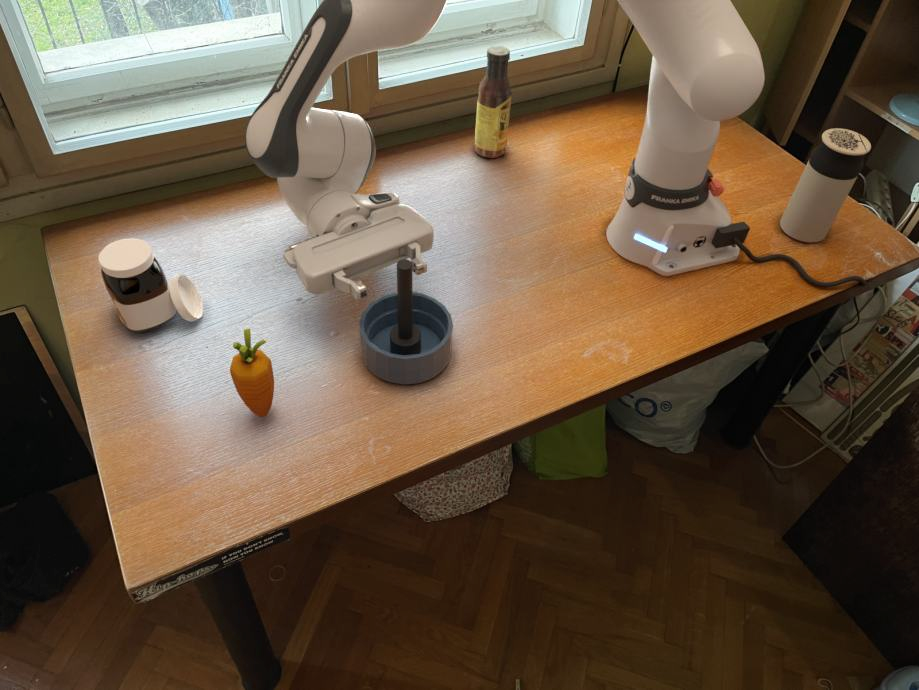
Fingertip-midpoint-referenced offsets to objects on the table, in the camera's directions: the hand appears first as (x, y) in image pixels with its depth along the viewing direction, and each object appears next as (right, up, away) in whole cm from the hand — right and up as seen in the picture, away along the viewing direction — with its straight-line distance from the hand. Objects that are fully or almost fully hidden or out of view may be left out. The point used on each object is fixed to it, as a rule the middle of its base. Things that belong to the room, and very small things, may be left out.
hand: (392, 282), depth 97 cm
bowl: (+1, -10, +6) cm, 12 cm away
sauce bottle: (+15, +29, +44) cm, 55 cm away
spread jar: (-35, -4, +10) cm, 37 cm away
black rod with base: (+1, -9, +6) cm, 11 cm away
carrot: (-17, -18, -2) cm, 25 cm away
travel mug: (+70, +12, +31) cm, 77 cm away
